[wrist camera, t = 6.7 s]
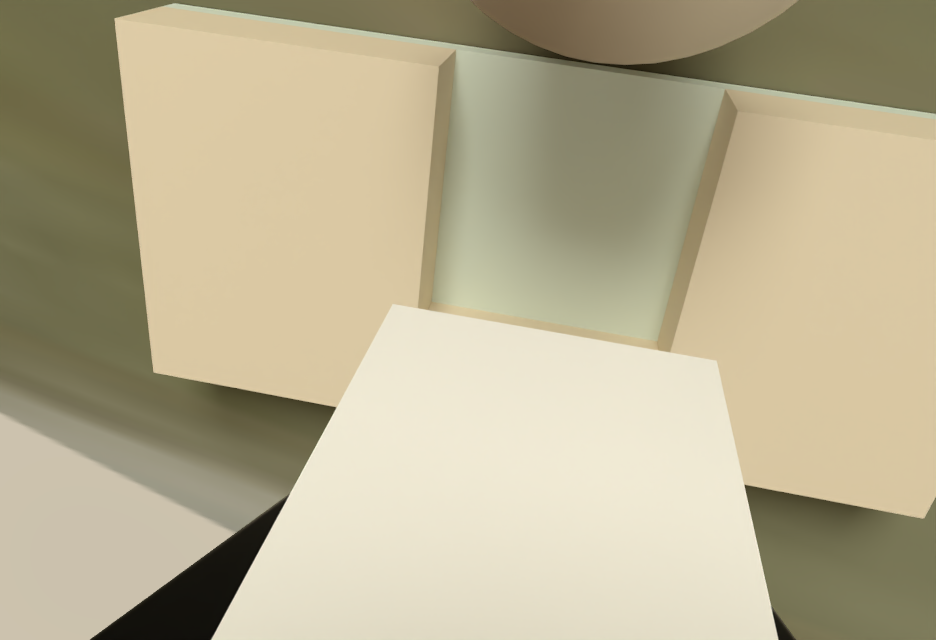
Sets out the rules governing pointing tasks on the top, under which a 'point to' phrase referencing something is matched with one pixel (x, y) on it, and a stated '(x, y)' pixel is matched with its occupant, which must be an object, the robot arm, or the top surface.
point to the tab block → (513, 498)
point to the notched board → (540, 227)
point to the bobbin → (631, 26)
